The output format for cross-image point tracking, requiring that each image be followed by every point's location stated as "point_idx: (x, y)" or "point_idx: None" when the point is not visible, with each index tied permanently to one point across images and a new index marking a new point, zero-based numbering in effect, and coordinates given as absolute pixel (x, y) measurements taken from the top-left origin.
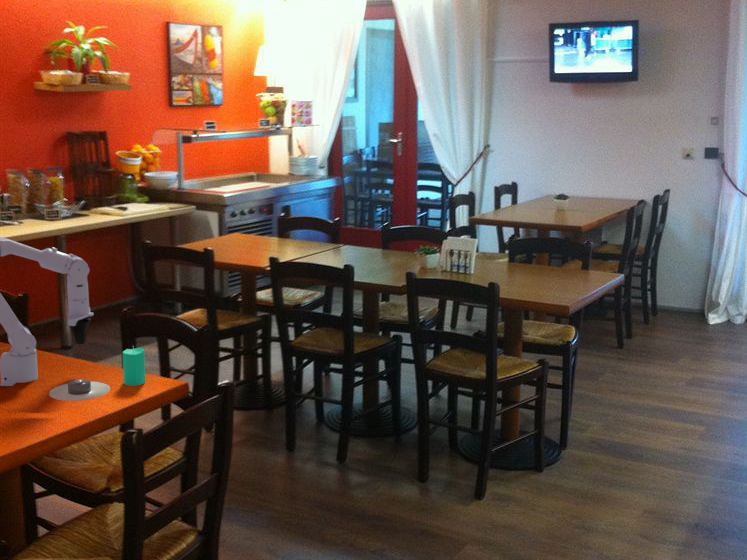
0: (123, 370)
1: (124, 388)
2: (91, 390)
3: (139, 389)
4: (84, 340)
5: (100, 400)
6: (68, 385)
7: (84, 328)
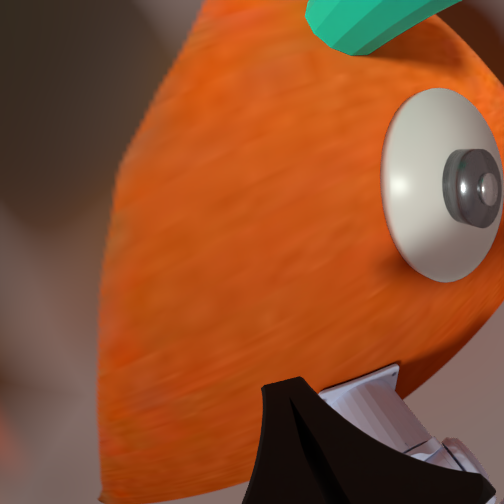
0: (408, 28)
1: (375, 52)
2: (455, 148)
3: None
4: (308, 392)
5: None
6: (495, 215)
7: (429, 464)
